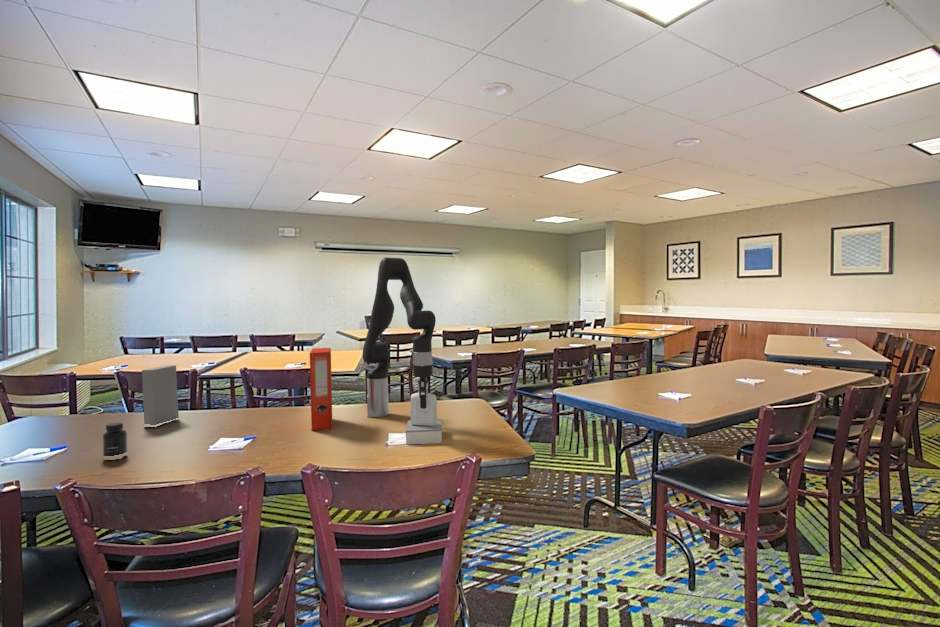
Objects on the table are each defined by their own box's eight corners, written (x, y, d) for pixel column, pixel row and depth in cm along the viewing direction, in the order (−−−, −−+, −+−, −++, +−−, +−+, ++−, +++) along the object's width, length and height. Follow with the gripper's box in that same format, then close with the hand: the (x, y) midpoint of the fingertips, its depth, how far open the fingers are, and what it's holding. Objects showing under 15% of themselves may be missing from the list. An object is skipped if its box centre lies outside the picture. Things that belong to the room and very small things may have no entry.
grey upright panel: (167, 419, 221) (164, 365, 220) (179, 420, 220) (176, 365, 219) (142, 428, 207) (139, 370, 206) (155, 428, 206) (152, 370, 205)
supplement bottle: (108, 462, 163) (106, 427, 163) (99, 459, 167) (97, 425, 167) (131, 456, 169) (129, 422, 169) (122, 453, 173) (120, 420, 172)
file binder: (333, 418, 215) (330, 347, 214) (332, 429, 199) (329, 351, 198) (314, 420, 213) (311, 348, 212) (311, 431, 197) (308, 352, 195)
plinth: (406, 444, 176) (405, 430, 176) (408, 432, 191) (408, 420, 191) (441, 442, 177) (441, 429, 177) (441, 431, 192) (441, 418, 192)
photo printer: (438, 423, 185) (437, 391, 184) (435, 426, 181) (434, 394, 180) (413, 422, 187) (412, 391, 187) (409, 425, 183) (408, 393, 183)
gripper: (413, 361, 190) (414, 401, 190) (411, 366, 176) (412, 410, 176) (432, 360, 190) (433, 401, 191) (432, 365, 176) (433, 409, 177)
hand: (423, 405), depth 184 cm, fingers open, 8 cm apart
